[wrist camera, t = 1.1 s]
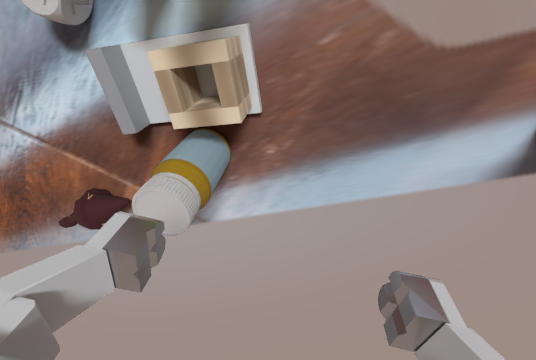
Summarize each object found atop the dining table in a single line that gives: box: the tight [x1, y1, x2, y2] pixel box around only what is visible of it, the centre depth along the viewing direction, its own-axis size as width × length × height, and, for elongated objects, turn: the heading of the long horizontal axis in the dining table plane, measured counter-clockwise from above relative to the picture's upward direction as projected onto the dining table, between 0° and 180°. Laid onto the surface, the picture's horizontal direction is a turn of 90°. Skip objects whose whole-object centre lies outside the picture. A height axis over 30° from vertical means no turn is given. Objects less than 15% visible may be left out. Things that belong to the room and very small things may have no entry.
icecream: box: [59, 188, 130, 229], centre depth 44 cm, size 7×7×15 cm
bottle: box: [132, 129, 231, 236], centre depth 32 cm, size 7×7×15 cm
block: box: [147, 35, 252, 129], centre depth 29 cm, size 8×8×6 cm
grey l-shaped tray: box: [85, 23, 262, 134], centre depth 32 cm, size 18×10×4 cm, turn 98°
